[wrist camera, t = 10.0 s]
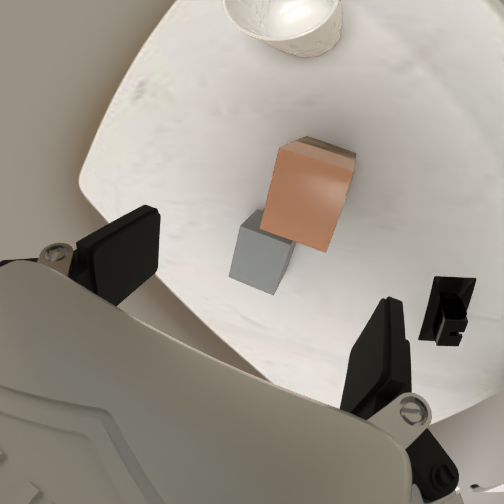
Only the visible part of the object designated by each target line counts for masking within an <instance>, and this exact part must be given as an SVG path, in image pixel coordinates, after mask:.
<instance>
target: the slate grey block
mask: <svg viewBox="0 0 504 504" xmlns="http://www.w3.org/2000/svg"><path fill="white" fill-rule="evenodd" d="M263 213H264V212H263V211H260V210H256V211H255V212H254V213H253V214H252V215H251V216H250V217H249V218H248V219H247V220H246V221H245V222H244V223H243V224H242V225H241V226H240V229H239V234H238V238H237V242H236V247H235V251H234V255H233V260H232V264H231V269H230V273H229V277H230V278H233V279H235V280H237V281H240V282H242V283H245V284H247V285H249V286H252V287H254V288H257V289H259V290H262V291H264V292H267V293H269V294H271V295H274V294H275V292H276V290H277V288H278V286H279V284H280V282H281V280H282V278H283V276H284V274H285V272H286V269H287V267H288V264H289V261H290V258H291V255H292V252H293V249H294V246H295V243H296V242H295V241H293V240H290V239H287V238H284V237H281V236H279V235H276V234H273V233H270V232H267V231H265V230H262V229H260V225H261V221H262V217H263Z"/></svg>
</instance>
